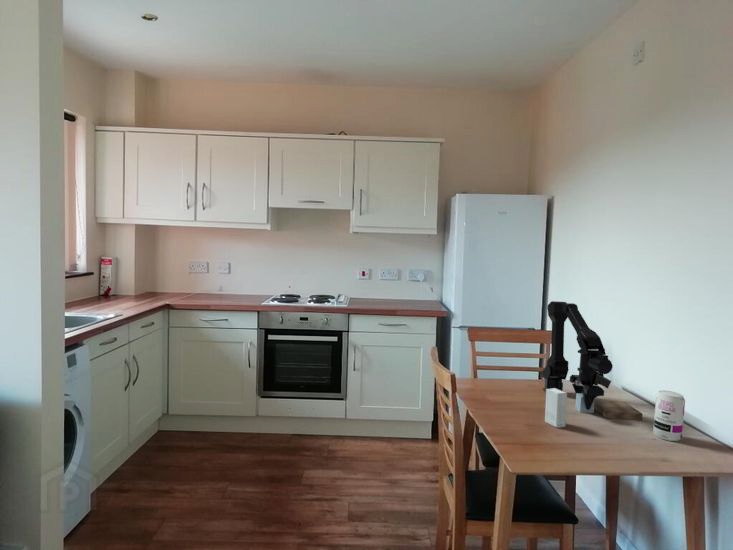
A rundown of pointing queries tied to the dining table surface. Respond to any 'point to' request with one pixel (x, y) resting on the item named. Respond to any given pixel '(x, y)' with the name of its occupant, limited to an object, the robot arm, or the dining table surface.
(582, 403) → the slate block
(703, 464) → the dining table surface
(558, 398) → the skincare box
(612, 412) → the walnut base
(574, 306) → the robot arm
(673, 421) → the supplement can
